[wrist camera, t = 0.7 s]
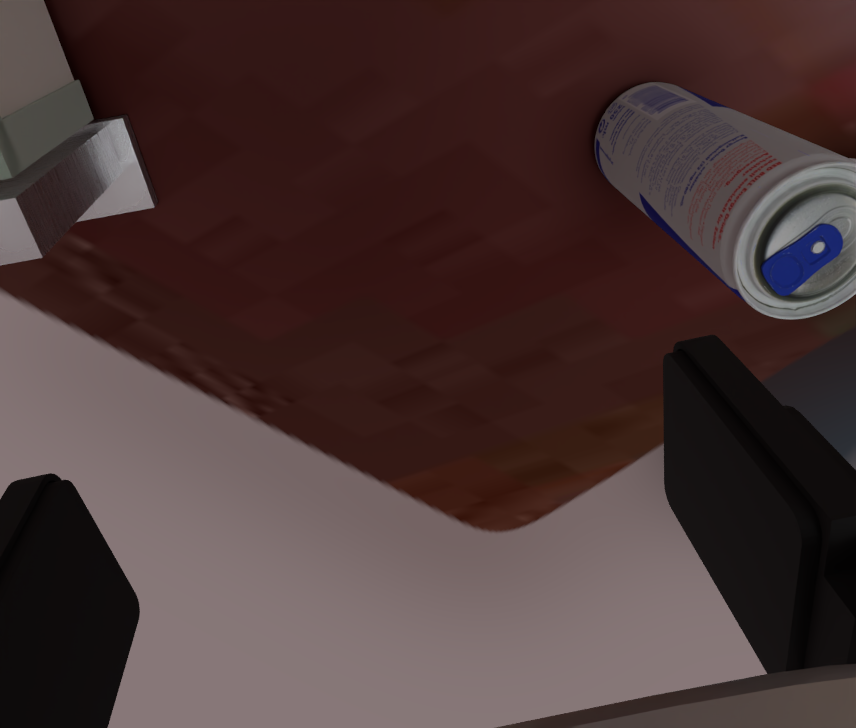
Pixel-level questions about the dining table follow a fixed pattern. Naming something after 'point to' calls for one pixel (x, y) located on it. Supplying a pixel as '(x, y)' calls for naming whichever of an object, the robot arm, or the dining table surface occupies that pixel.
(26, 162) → the bar
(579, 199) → the dining table surface
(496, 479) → the dining table surface
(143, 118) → the dining table surface
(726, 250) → the beverage can
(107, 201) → the gate posts
